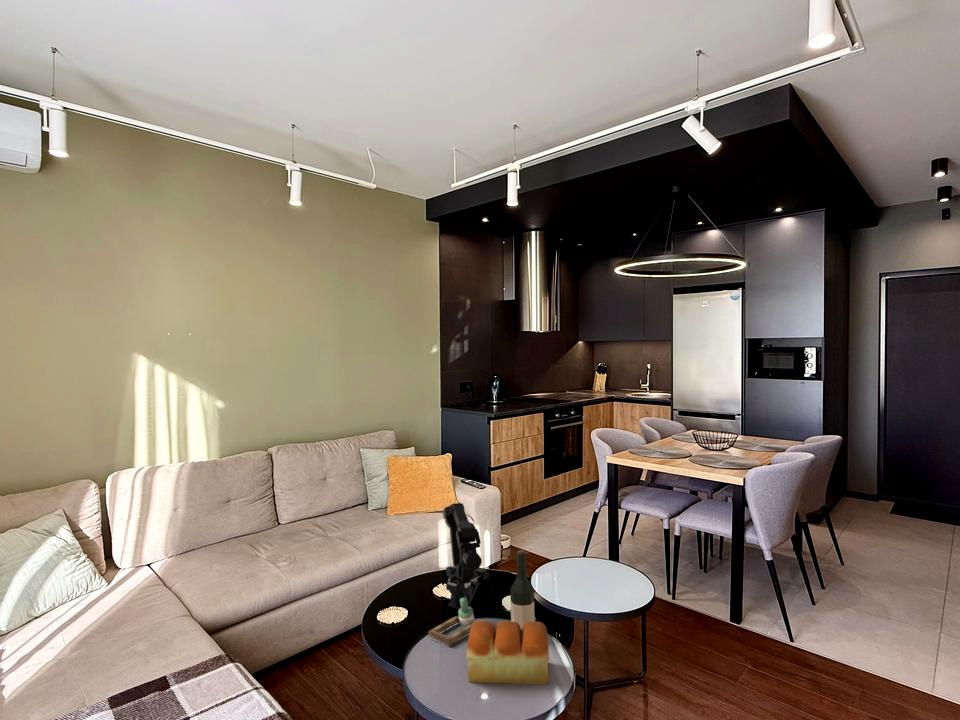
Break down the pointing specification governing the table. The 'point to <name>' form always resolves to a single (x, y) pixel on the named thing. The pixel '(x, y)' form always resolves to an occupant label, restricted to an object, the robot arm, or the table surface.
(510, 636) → the bread
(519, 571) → the wine bottle
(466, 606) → the bottle
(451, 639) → the wooden tray
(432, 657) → the table surface
